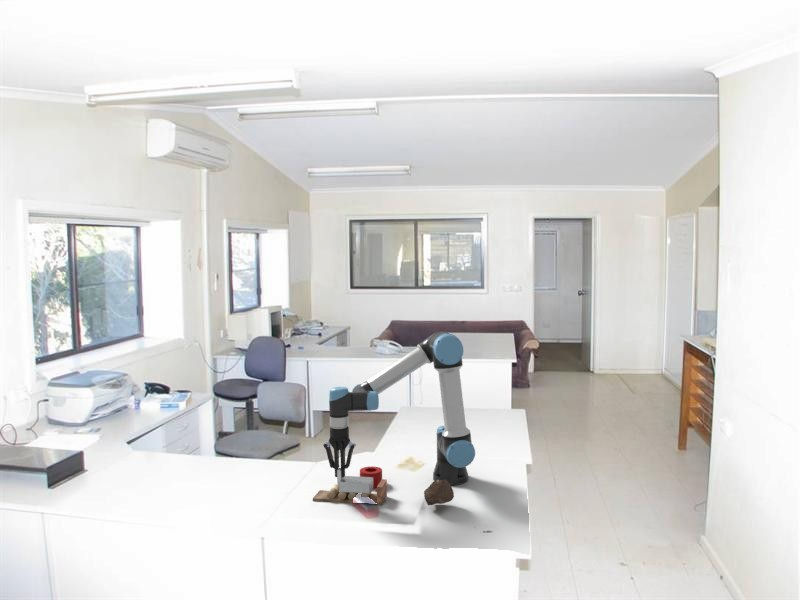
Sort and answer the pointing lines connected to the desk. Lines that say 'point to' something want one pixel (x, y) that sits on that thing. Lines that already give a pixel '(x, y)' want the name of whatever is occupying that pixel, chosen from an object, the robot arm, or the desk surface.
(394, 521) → the desk surface
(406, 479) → the desk surface
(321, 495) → the board
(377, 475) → the lever
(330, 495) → the roller
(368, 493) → the roller
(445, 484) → the rock
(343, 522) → the desk surface
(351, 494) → the roller
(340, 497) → the cylinder
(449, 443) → the robot arm
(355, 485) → the slab
